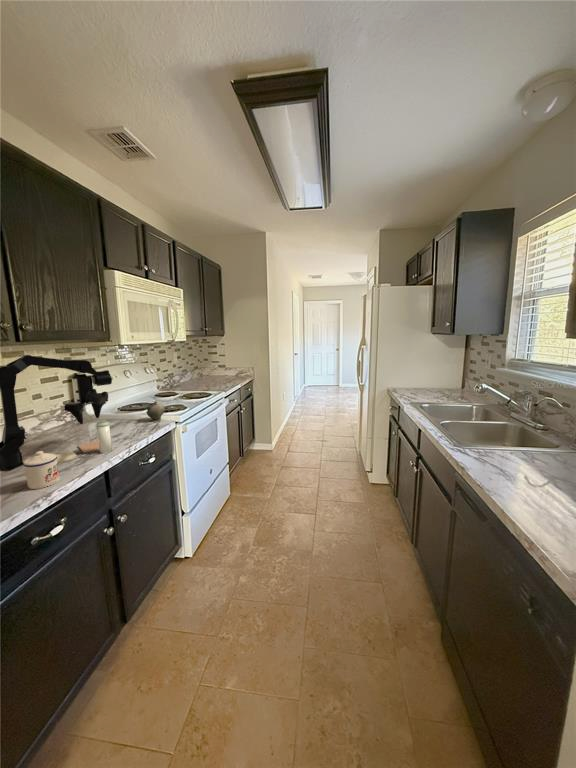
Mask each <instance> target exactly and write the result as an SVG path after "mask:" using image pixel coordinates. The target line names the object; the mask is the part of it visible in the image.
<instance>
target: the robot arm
mask: <svg viewBox="0 0 576 768" xmlns="http://www.w3.org/2000/svg"><path fill="white" fill-rule="evenodd" d="M30 366H35V367H45V368H47V367H48V368H56V369H58V368H59V369H66V370H69V371H73V372H74V373H73V374H72V375H71V376H70V378H69V379H72V380H76V384H77V386H76V387H77V390H75V393H76V394H78V399H76V401H77V402H75V401H72V402H68V403H66V404H64V407H63V408H64V412H65V411H66V412H68V413H70V414H71V415H72V416H73V417H74V418H75V420H76V421H77V422H78V423H79V425H83V424H84V418H83V417H84V416H83V412H84V411H85V406H89V405H91V407H92V410H93V412H94V416H95V418H96V419H99V418H100V415H101V411H102V409H103V407H104V405H105V404H107V402H109V393H108V391H102V392H98V391H97V389H96V388H94V385H95V386H96V387H99V386H100V387H101V386H109V385H111V384H112V383H113V379H112V376H111V374H110V370H107V369H105V370H100V371H99V370H98V371H97V370H96V369H94V367H93V365H92V362H90V360H89V361H88V360H85V359H81V358H80V359H59V358H52V357H43V356H42V357H41V356H34V355H30V354H23V355H22V356H21V357H19V358H17V359H15V360H14V361H11V362H9V363H7V364H6V365H0V399H1V409H2V415H3V422H4V426H3V428H2V430H3V431H2V437H1V441H0V471H7V470H9V471H12V470H14V469H17V468H18V467H21V466H23V463H24V460H23V459H24V458H23V454H22V451H21V449H20V447H22V446H23V445H24V444H25V440H27V437H26V428H25V427H24V426H23V425H22V426H20V425H19V421H18V419H19V418H18V413H17V403H16V396H15V387H16V383H17V375H18V374H20V373H22V372H23V371H25V369H28V367H30ZM76 372H78V373H79V374H78V373H76ZM87 374H88V375H87ZM11 469H12V470H11Z"/></svg>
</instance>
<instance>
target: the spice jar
mask: <svg viewBox="0 0 576 768" xmlns="http://www.w3.org/2000/svg"><path fill="white" fill-rule="evenodd" d="M95 425H96V429H97V438H98V441H99V447H100V449H99V452H100V454H108V453H111V452H112V451H113V444H112V438H111V429H110V427H111V426H110V421H107V420H106V421H100V422H96V424H95Z"/></svg>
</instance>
